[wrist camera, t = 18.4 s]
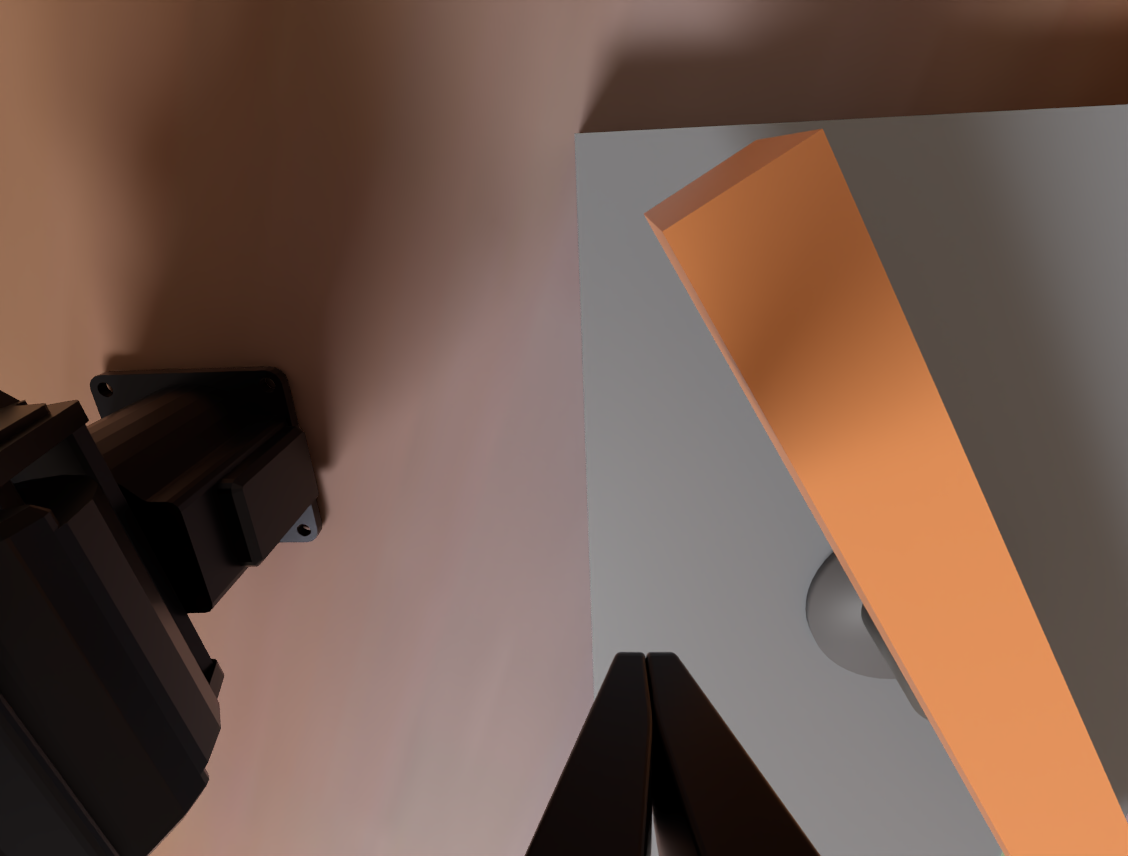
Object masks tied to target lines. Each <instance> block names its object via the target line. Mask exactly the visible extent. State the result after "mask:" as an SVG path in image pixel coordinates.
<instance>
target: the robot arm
mask: <svg viewBox="0 0 1128 856" xmlns="http://www.w3.org/2000/svg"><path fill="white" fill-rule="evenodd" d="M266 378H270V379H271V380H272V381H273V382H274V384H275V388H271V387H269V386H268V385H267V383H266ZM106 383H107V384H109V385H110V386H111V388H112V389H113V392H112V391H110V390H109V389H108V387H107V384H106ZM90 389H91V392H92V395H93V397H94V400H95V403H96V405H97V408H98V411H99V414H100V416H101V419H100V420H98V421H96V422H94V423H92V424H91V425H89V426H87V427H86V425H85V423H87V422H88V421H89V419H88V418H87V416H86V414H85V412H84V410H83V408H82V406H81V404H80V403H79V401H78V400H72V401H67V402H61V403H55V404H50V405H46V404H45V403H41V404H31V405H28V404H27V403H26V401H25V400H23V401H19V400H17V399H15V398H13V397H12V396H10V395H8V394H6V393H4V392H2V391H1V390H0V856H149V855H150V854H151V853H152V852H153V851H154V850H155V849H156V847H157V846H158V845H159V844H160V843H161V842H162V841H163V840H164V839H165V838H166V837H167V836H168V835H169V834H170V833H171V832H172V830H173V829H174V828H175V827H176V826H177V825H178V824H179V823H180V822H181V821H182V820H183V818H184V817H185V816H186V814H187V813H188V811H189V810H190V809H191V807H192V806H193V804H194V803H195V802H196V800H197V799H198V797H199V796H200V794H201V793H202V792H203V790H204V788H205V787H206V785H207V783H208V781H209V775H208V773H207V771H206V769H205V767H206V765H207V763H208V761H209V758H210V756H211V753H212V750H213V748H214V745H215V742H216V740H217V737H218V734H219V732H220V729H221V724H220V708H219V702H218V700H217V698H218V695H219V692H220V688H221V685H222V682H223V678H224V673H223V671H222V669H221V667H220V666H219V664H218V662H217V660H216V659H211V658H210V656H209V654H208V652H207V650H206V649H205V647H204V645H203V643H202V641H201V639H200V637H199V636H198V634H197V632H196V630H195V628H194V626H193V624H192V622H191V621H190V619H189V617H188V615H187V613H206V612H210V611H211V609H212V608H213V607H214V606H215V605H216V604H217V603H218V601H219V600H220V599H221V598H222V597H223V596H224V594H225V593H226V592H227V591H228V590H229V589H230V588H231V586H232V585H233V584H234V583H235V582H236V581H237V580H238V578H239V577H240V576H241V575H242V574H243V573H244V571H245V570H246V569H247V568H248V567H255V566H259V565H260V564H261V563H262V562H263V560H264V559H265V558H266V557H267V556H268V555H269V553H270V552H271V551H272V550H273V549H274V547H275V546H276V545H277V544H278V543H279V542H309V541H312V540H314V539H315V538H316V537H317V536H318V534H319V533H320V531H321V530H322V522H321V518H320V514H319V509H318V505H317V501H316V498H317V497H318V494H319V493H318V488H317V484H316V480H315V476H314V471H313V467H312V463H311V458H310V454H309V450H308V446H307V441H306V437H305V433H304V432H303V431H302V429H301V428H300V427H299V425H298V421H297V416H296V412H295V408H294V404H293V399H292V395H291V391H290V387H289V383H288V379H287V377H286V375H285V374H284V373H283V372H282V371H281V370H279V369H277V368H275V367H240V368H207V369H174V370H140V371H109V372H105V373H102V374H100V375H97V376H95V377H94V378H93V379H92V380H91V382H90ZM302 524H304V525H307V526H308V527H309V528H310V530H306V529H305V528H304V527H303V526H302ZM652 811H653V822H654V829H655V835H656V842H657V848H658V853H659V856H821V855H820V854H819V852H818V851H817V850H816V848H815V847H814V846H813V844H812V843H811V841H810V840H809V839H808V837H807V836H806V834H805V833H804V832H803V830H802V829H801V827H800V826H799V825H798V823H797V822H796V820H795V819H794V818H793V816H792V815H791V813H790V812H789V811H788V809H787V808H786V806H785V805H784V804H783V802H782V801H781V799H780V798H779V797H778V795H777V794H776V792H775V791H774V790H773V788H772V787H771V786H770V784H769V783H768V781H767V780H766V779H765V777H764V776H763V774H762V773H761V772H760V770H759V769H758V767H757V766H756V765H755V763H754V762H753V760H752V759H751V758H750V756H749V755H748V753H747V752H746V751H745V749H744V748H743V746H742V745H741V744H740V742H739V741H738V739H737V738H736V737H735V735H734V734H733V732H732V731H731V730H730V728H729V727H728V726H727V724H726V723H725V721H724V720H723V719H722V717H721V716H720V714H719V713H718V712H717V710H716V709H715V707H714V706H713V705H712V703H711V702H710V700H709V699H708V698H707V696H706V695H705V693H704V692H703V691H702V689H701V688H700V686H699V685H698V684H697V682H696V681H695V679H694V678H693V677H692V675H691V674H690V672H689V671H688V670H687V668H686V667H685V666H684V664H683V663H682V661H681V660H680V659H679V657H678V656H677V655H676V654H675V653H673V652H649V653H647V655H646V657H645V655H644V653H642V652H618V653H617V654H616V655H615V656H614V659H613V661H612V663H611V665H610V667H609V670H608V672H607V674H606V676H605V678H604V681H603V683H602V685H601V687H600V690H599V692H598V694H597V696H596V698H595V701H594V703H593V705H592V707H591V710H590V712H589V714H588V716H587V718H586V721H585V723H584V725H583V727H582V730H581V732H580V734H579V736H578V738H577V741H576V743H575V745H574V747H573V750H572V752H571V754H570V756H569V758H568V761H567V763H566V765H565V767H564V769H563V772H562V774H561V776H560V778H559V781H558V783H557V785H556V787H555V789H554V792H553V794H552V796H551V798H550V801H549V803H548V805H547V807H546V809H545V812H544V814H543V816H542V818H541V821H540V823H539V825H538V827H537V829H536V832H535V834H534V836H533V838H532V841H531V843H530V845H529V847H528V849H527V852H526V854H525V856H651V848H652Z"/></svg>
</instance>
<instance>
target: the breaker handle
mask: <svg viewBox="0 0 1128 856" xmlns="http://www.w3.org/2000/svg"><path fill="white" fill-rule="evenodd" d="M644 216H645V217H646V219H647V221H648V223H649V225H650V226H651V228H652V230H653V232H654V233H655V235H656V237H657V239H658V241H659V242H660V244H661V246H662V248H663V249H664V251H665V253H666V255H667V257H668V258H669V260H670V262H671V264H672V265H673V267H674V269H675V271H676V273H677V274H678V276H679V278H680V280H681V281H682V283H683V285H684V287H685V288H686V290H687V292H688V294H689V296H690V297H691V299H692V301H693V303H694V304H695V306H696V308H697V310H698V312H699V313H700V315H701V317H702V319H703V320H704V322H705V324H706V326H707V328H708V329H709V331H710V333H711V335H712V336H713V338H714V340H715V342H716V344H717V345H718V347H719V349H720V351H721V352H722V354H723V356H724V358H725V360H726V361H727V363H728V365H729V367H730V368H731V370H732V372H733V374H734V375H735V377H736V379H737V381H738V383H739V384H740V386H741V388H742V390H743V391H744V393H745V395H746V397H747V399H748V400H749V402H750V404H751V406H752V407H753V409H754V411H755V413H756V415H757V416H758V418H759V420H760V422H761V423H762V425H763V427H764V429H765V431H766V432H767V434H768V436H769V438H770V439H771V441H772V443H773V445H774V447H775V448H776V450H777V452H778V454H779V455H780V457H781V459H782V461H783V463H784V464H785V466H786V468H787V470H788V471H789V473H790V475H791V477H792V478H793V480H794V482H795V484H796V486H797V487H798V489H799V491H800V493H801V494H802V496H803V498H804V500H805V502H806V503H807V505H808V507H809V509H810V510H811V512H812V514H813V516H814V518H815V519H816V521H817V523H818V525H819V526H820V528H821V530H822V532H823V534H824V535H825V537H826V539H827V541H828V542H829V544H830V546H831V548H832V550H833V551H834V553H835V555H836V557H837V558H838V560H839V562H840V564H841V566H842V567H843V569H844V571H845V573H846V574H847V576H848V578H849V580H850V581H851V583H852V585H853V587H854V589H855V590H856V592H857V594H858V596H859V597H860V599H861V601H862V603H863V604H862V608H861V617H862V621H863V623H864V626H865V627H866V629H867V631H868V632H869V634H870V636H871V637H872V639H873V641H874V643H875V644H876V646H877V648H878V649H879V651H880V653H881V654H882V656H883V658H884V660H885V661H886V663H887V665H888V666H889V668H890V670H891V671H892V673H893V675H894V676H895V678H896V680H897V682H898V683H899V685H900V687H901V688H902V690H903V692H904V693H905V695H906V697H907V699H908V700H909V702H910V704H911V705H912V707H913V708H914V710H915V711H916V712H917V713H918V714H919V715H920V716H922V717H923V718H925V719H927V720H929V722H930V724H931V725H932V727H933V729H934V731H935V732H936V734H937V736H938V738H939V740H940V741H941V743H942V745H943V747H944V748H945V750H946V752H947V754H948V756H949V757H950V759H951V761H952V763H953V764H954V766H955V768H956V770H957V771H958V773H959V775H960V777H961V779H962V780H963V782H964V784H965V786H966V787H967V789H968V791H969V793H970V795H971V796H972V798H973V800H974V802H975V803H976V805H977V807H978V809H979V811H980V812H981V814H982V816H983V818H984V819H985V821H986V823H987V825H988V827H989V828H990V830H991V832H992V834H993V835H994V837H995V839H996V841H997V843H998V844H999V846H1000V848H1001V850H1002V851H1003V853H1004V855H1005V856H1128V823H1127V821H1126V818H1125V816H1124V814H1123V812H1122V809H1121V807H1120V805H1119V803H1118V800H1117V798H1116V796H1115V793H1114V791H1113V789H1112V787H1111V784H1110V782H1109V780H1108V777H1107V775H1106V773H1105V771H1104V768H1103V766H1102V764H1101V762H1100V759H1099V757H1098V755H1097V752H1096V750H1095V748H1094V746H1093V743H1092V741H1091V739H1090V736H1089V734H1088V732H1087V730H1086V727H1085V725H1084V723H1083V721H1082V718H1081V716H1080V714H1079V711H1078V709H1077V707H1076V705H1075V702H1074V700H1073V698H1072V695H1071V693H1070V691H1069V689H1068V686H1067V684H1066V682H1065V680H1064V677H1063V675H1062V673H1061V670H1060V668H1059V666H1058V664H1057V661H1056V659H1055V657H1054V654H1053V652H1052V650H1051V648H1050V645H1049V643H1048V641H1047V639H1046V636H1045V634H1044V632H1043V629H1042V627H1041V625H1040V623H1039V620H1038V618H1037V616H1036V613H1035V611H1034V609H1033V607H1032V604H1031V602H1030V600H1029V598H1028V595H1027V593H1026V591H1025V588H1024V586H1023V584H1022V582H1021V579H1020V577H1019V575H1018V572H1017V570H1016V568H1015V566H1014V563H1013V561H1012V559H1011V556H1010V554H1009V552H1008V550H1007V547H1006V545H1005V543H1004V541H1003V538H1002V536H1001V534H1000V531H999V529H998V527H997V525H996V522H995V520H994V518H993V515H992V513H991V511H990V509H989V506H988V504H987V502H986V500H985V497H984V495H983V493H982V490H981V488H980V486H979V484H978V481H977V479H976V477H975V474H974V472H973V470H972V468H971V465H970V463H969V461H968V459H967V456H966V454H965V452H964V449H963V447H962V445H961V443H960V440H959V438H958V436H957V433H956V431H955V429H954V427H953V424H952V422H951V420H950V418H949V415H948V413H947V411H946V408H945V406H944V404H943V402H942V399H941V397H940V395H939V392H938V390H937V388H936V386H935V383H934V381H933V379H932V377H931V374H930V372H929V370H928V367H927V365H926V363H925V361H924V358H923V356H922V354H921V351H920V349H919V347H918V345H917V342H916V340H915V338H914V336H913V333H912V331H911V329H910V326H909V324H908V322H907V320H906V317H905V315H904V313H903V310H902V308H901V306H900V304H899V301H898V299H897V297H896V295H895V292H894V290H893V288H892V285H891V283H890V281H889V279H888V276H887V274H886V272H885V269H884V267H883V265H882V263H881V260H880V258H879V256H878V254H877V251H876V249H875V247H874V244H873V242H872V240H871V238H870V235H869V233H868V231H867V228H866V226H865V224H864V222H863V219H862V217H861V215H860V213H859V210H858V208H857V206H856V203H855V201H854V199H853V197H852V194H851V192H850V190H849V187H848V185H847V183H846V181H845V178H844V176H843V174H842V172H841V169H840V167H839V165H838V162H837V160H836V158H835V156H834V153H833V151H832V149H831V146H830V144H829V142H828V140H827V137H826V135H825V133H824V131H823V129H817V130H812V131H806V132H800V133H794V134H788V135H783V136H777V137H771V138H765V139H759V140H755V141H754V142H752V143H751V144H749V145H748V146H746V147H745V148H743V149H741V150H740V151H738V152H737V153H735V154H734V155H732V156H731V157H729V158H728V159H726V160H725V161H723V162H722V163H720V164H719V165H717V166H716V167H714V168H713V169H711V170H709V171H708V172H706V173H705V174H703V175H702V176H700V177H699V178H697V179H696V180H694V181H693V182H691V183H690V184H688V185H687V186H685V187H684V188H682V189H680V190H679V191H677V192H676V193H674V194H673V195H671V196H670V197H668V198H667V199H665V200H664V201H662V202H661V203H659V204H658V205H656V206H655V207H653V208H652V209H650V210H648V211H647V212H645V213H644Z"/></svg>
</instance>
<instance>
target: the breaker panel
mask: <svg viewBox="0 0 1128 856" xmlns="http://www.w3.org/2000/svg"><path fill="white" fill-rule="evenodd" d="M817 129H823V131H824V133H825V135H826V137H827V140H828V142H829V144H830V146H831V149H832V151H833V153H834V156H835V158H836V160H837V162H838V165H839V167H840V169H841V172H842V174H843V176H844V178H845V181H846V183H847V185H848V187H849V190H850V192H851V194H852V197H853V199H854V201H855V203H856V206H857V208H858V210H859V213H860V215H861V217H862V219H863V222H864V224H865V226H866V228H867V231H868V233H869V235H870V238H871V240H872V242H873V244H874V247H875V249H876V251H877V254H878V256H879V258H880V260H881V263H882V265H883V267H884V269H885V272H886V274H887V276H888V279H889V281H890V283H891V285H892V288H893V290H894V292H895V295H896V297H897V299H898V301H899V304H900V306H901V308H902V310H903V313H904V315H905V317H906V320H907V322H908V324H909V326H910V329H911V331H912V333H913V336H914V338H915V340H916V342H917V345H918V347H919V349H920V351H921V354H922V356H923V358H924V361H925V363H926V365H927V367H928V370H929V372H930V374H931V377H932V379H933V381H934V383H935V386H936V388H937V390H938V392H939V395H940V397H941V399H942V402H943V404H944V406H945V408H946V411H947V413H948V415H949V418H950V420H951V422H952V424H953V427H954V429H955V431H956V433H957V436H958V438H959V440H960V443H961V445H962V447H963V449H964V452H965V454H966V456H967V459H968V461H969V463H970V465H971V468H972V470H973V472H974V474H975V477H976V479H977V481H978V484H979V486H980V488H981V490H982V493H983V495H984V497H985V500H986V502H987V504H988V506H989V509H990V511H991V513H992V515H993V518H994V520H995V522H996V525H997V527H998V529H999V531H1000V534H1001V536H1002V538H1003V541H1004V543H1005V545H1006V547H1007V550H1008V552H1009V554H1010V556H1011V559H1012V561H1013V563H1014V566H1015V568H1016V570H1017V572H1018V575H1019V577H1020V579H1021V582H1022V584H1023V586H1024V588H1025V591H1026V593H1027V595H1028V598H1029V600H1030V602H1031V604H1032V607H1033V609H1034V611H1035V613H1036V616H1037V618H1038V620H1039V623H1040V625H1041V627H1042V629H1043V632H1044V634H1045V636H1046V639H1047V641H1048V643H1049V645H1050V648H1051V650H1052V652H1053V654H1054V657H1055V659H1056V661H1057V664H1058V666H1059V668H1060V670H1061V673H1062V675H1063V677H1064V680H1065V682H1066V684H1067V686H1068V689H1069V691H1070V693H1071V695H1072V698H1073V700H1074V702H1075V705H1076V707H1077V709H1078V711H1079V714H1080V716H1081V718H1082V721H1083V723H1084V725H1085V727H1086V730H1087V732H1088V734H1089V736H1090V739H1091V741H1092V743H1093V746H1094V748H1095V750H1096V752H1097V755H1098V757H1099V759H1100V762H1101V764H1102V766H1103V768H1104V771H1105V773H1106V775H1107V777H1108V780H1109V782H1110V784H1111V787H1112V789H1113V791H1114V793H1115V796H1116V798H1117V800H1118V803H1119V805H1120V807H1121V809H1122V812H1123V814H1124V816H1125V818H1126V816H1127V814H1128V104H1126V105H1107V106H1088V107H1069V108H1050V109H1031V110H1012V111H993V112H974V113H956V114H937V115H918V116H899V117H880V118H861V119H842V120H823V121H804V122H785V123H766V124H747V125H728V126H709V127H690V128H671V129H652V130H633V131H614V132H596V133H577V134H575V160H576V189H577V218H578V247H579V276H580V305H581V334H582V363H583V392H584V421H585V450H586V479H587V508H588V537H589V566H590V595H591V623H592V652H593V681H594V701H595V698H596V696H597V694H598V692H599V690H600V687H601V685H602V683H603V681H604V678H605V676H606V674H607V672H608V670H609V667H610V665H611V663H612V661H613V659H614V656H615V655H616V654H617V653H618V652H642V653H644V655H645V657H646V655H647V653H649V652H673V653H675V654H676V655H677V656H678V657H679V659H680V660H681V661H682V663H683V664H684V666H685V667H686V668H687V670H688V671H689V672H690V674H691V675H692V677H693V678H694V679H695V681H696V682H697V684H698V685H699V686H700V688H701V689H702V691H703V692H704V693H705V695H706V696H707V698H708V699H709V700H710V702H711V703H712V705H713V706H714V707H715V709H716V710H717V712H718V713H719V714H720V716H721V717H722V719H723V720H724V721H725V723H726V724H727V726H728V727H729V728H730V730H731V731H732V732H733V734H734V735H735V737H736V738H737V739H738V741H739V742H740V744H741V745H742V746H743V748H744V749H745V751H746V752H747V753H748V755H749V756H750V758H751V759H752V760H753V762H754V763H755V765H756V766H757V767H758V769H759V770H760V772H761V773H762V774H763V776H764V777H765V779H766V780H767V781H768V783H769V784H770V786H771V787H772V788H773V790H774V791H775V792H776V794H777V795H778V797H779V798H780V799H781V801H782V802H783V804H784V805H785V806H786V808H787V809H788V811H789V812H790V813H791V815H792V816H793V818H794V819H795V820H796V822H797V823H798V825H799V826H800V827H801V829H802V830H803V832H804V833H805V834H806V836H807V837H808V839H809V840H810V841H811V843H812V844H813V846H814V847H815V848H816V850H817V851H818V852H819V854H820V855H821V856H1005V855H1004V853H1003V851H1002V850H1001V848H1000V846H999V844H998V843H997V841H996V839H995V837H994V835H993V834H992V832H991V830H990V828H989V827H988V825H987V823H986V821H985V819H984V818H983V816H982V814H981V812H980V811H979V809H978V807H977V805H976V803H975V802H974V800H973V798H972V796H971V795H970V793H969V791H968V789H967V787H966V786H965V784H964V782H963V780H962V779H961V777H960V775H959V773H958V771H957V770H956V768H955V766H954V764H953V763H952V761H951V759H950V757H949V756H948V754H947V752H946V750H945V748H944V747H943V745H942V743H941V741H940V740H939V738H938V736H937V734H936V732H935V731H934V729H933V727H932V725H931V724H930V722H929V720H927V719H925V718H923V717H922V716H920V715H919V714H918V713H917V712H916V711H915V710H914V708H913V707H912V705H911V704H910V702H909V700H908V699H907V697H906V695H905V693H904V692H903V690H902V688H901V687H900V685H899V683H898V682H897V680H896V678H895V676H894V675H893V673H892V671H891V670H890V668H889V666H888V665H887V663H886V661H885V660H884V658H883V656H882V654H881V653H880V651H879V649H878V648H877V646H876V644H875V643H874V641H873V639H872V637H871V636H870V634H869V632H868V631H867V629H866V627H865V626H864V623H863V621H862V617H861V608H862V604H863V603H862V601H861V599H860V597H859V596H858V594H857V592H856V590H855V589H854V587H853V585H852V583H851V581H850V580H849V578H848V576H847V574H846V573H845V571H844V569H843V567H842V566H841V564H840V562H839V560H838V558H837V557H836V555H835V553H834V551H833V550H832V548H831V546H830V544H829V542H828V541H827V539H826V537H825V535H824V534H823V532H822V530H821V528H820V526H819V525H818V523H817V521H816V519H815V518H814V516H813V514H812V512H811V510H810V509H809V507H808V505H807V503H806V502H805V500H804V498H803V496H802V494H801V493H800V491H799V489H798V487H797V486H796V484H795V482H794V480H793V478H792V477H791V475H790V473H789V471H788V470H787V468H786V466H785V464H784V463H783V461H782V459H781V457H780V455H779V454H778V452H777V450H776V448H775V447H774V445H773V443H772V441H771V439H770V438H769V436H768V434H767V432H766V431H765V429H764V427H763V425H762V423H761V422H760V420H759V418H758V416H757V415H756V413H755V411H754V409H753V407H752V406H751V404H750V402H749V400H748V399H747V397H746V395H745V393H744V391H743V390H742V388H741V386H740V384H739V383H738V381H737V379H736V377H735V375H734V374H733V372H732V370H731V368H730V367H729V365H728V363H727V361H726V360H725V358H724V356H723V354H722V352H721V351H720V349H719V347H718V345H717V344H716V342H715V340H714V338H713V336H712V335H711V333H710V331H709V329H708V328H707V326H706V324H705V322H704V320H703V319H702V317H701V315H700V313H699V312H698V310H697V308H696V306H695V304H694V303H693V301H692V299H691V297H690V296H689V294H688V292H687V290H686V288H685V287H684V285H683V283H682V281H681V280H680V278H679V276H678V274H677V273H676V271H675V269H674V267H673V265H672V264H671V262H670V260H669V258H668V257H667V255H666V253H665V251H664V249H663V248H662V246H661V244H660V242H659V241H658V239H657V237H656V235H655V233H654V232H653V230H652V228H651V226H650V225H649V223H648V221H647V219H646V217H645V216H644V213H645V212H647V211H648V210H650V209H652V208H653V207H655V206H656V205H658V204H659V203H661V202H662V201H664V200H665V199H667V198H668V197H670V196H671V195H673V194H674V193H676V192H677V191H679V190H680V189H682V188H684V187H685V186H687V185H688V184H690V183H691V182H693V181H694V180H696V179H697V178H699V177H700V176H702V175H703V174H705V173H706V172H708V171H709V170H711V169H713V168H714V167H716V166H717V165H719V164H720V163H722V162H723V161H725V160H726V159H728V158H729V157H731V156H732V155H734V154H735V153H737V152H738V151H740V150H741V149H743V148H745V147H746V146H748V145H749V144H751V143H752V142H754V141H755V140H759V139H765V138H771V137H777V136H783V135H788V134H794V133H800V132H806V131H812V130H817ZM651 856H659V853H658V848H657V842H656V835H655V829H654V822H653V811H652V848H651Z"/></svg>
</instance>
